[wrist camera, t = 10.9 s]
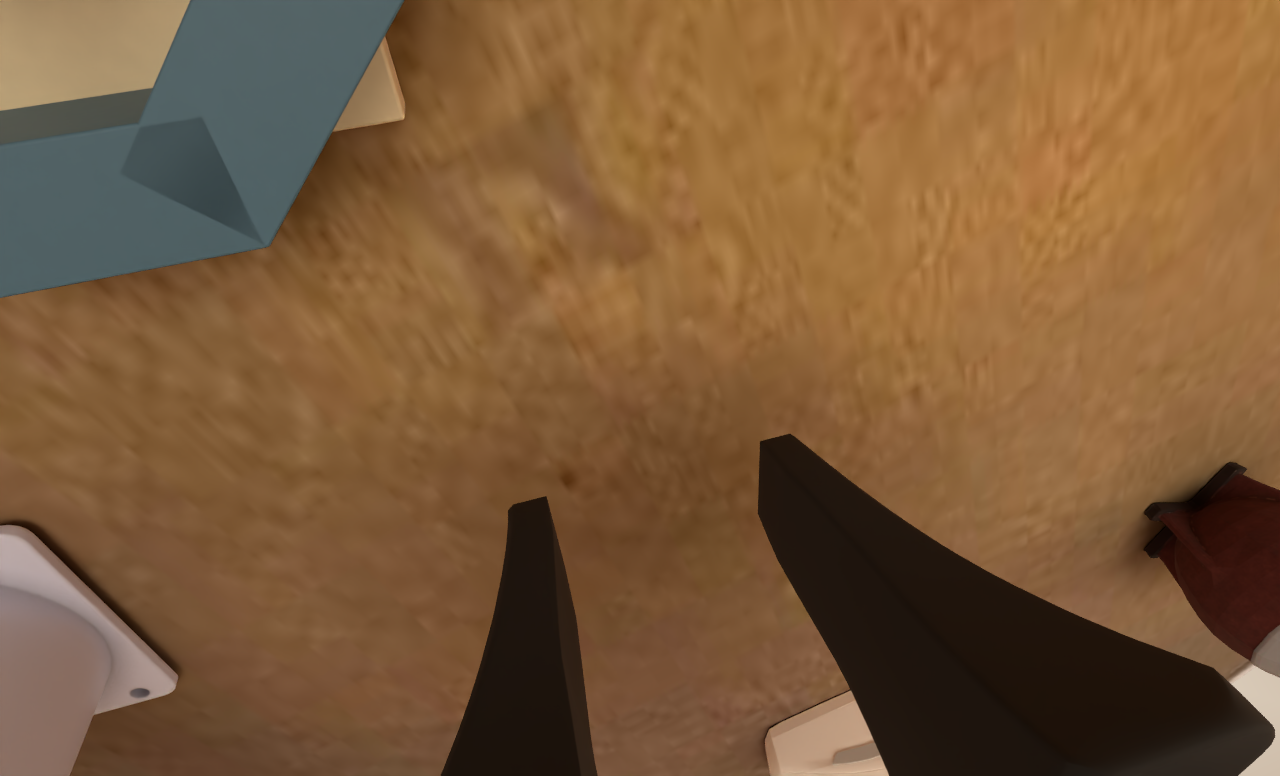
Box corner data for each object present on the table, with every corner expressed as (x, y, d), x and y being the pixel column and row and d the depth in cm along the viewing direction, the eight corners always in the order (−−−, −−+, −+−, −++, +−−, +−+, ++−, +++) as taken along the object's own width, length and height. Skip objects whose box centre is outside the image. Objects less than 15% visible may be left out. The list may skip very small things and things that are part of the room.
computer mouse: (749, 732, 36) (801, 866, 31) (971, 634, 36) (1058, 753, 31) (771, 773, 40) (820, 896, 35) (971, 685, 40) (1047, 796, 35)
